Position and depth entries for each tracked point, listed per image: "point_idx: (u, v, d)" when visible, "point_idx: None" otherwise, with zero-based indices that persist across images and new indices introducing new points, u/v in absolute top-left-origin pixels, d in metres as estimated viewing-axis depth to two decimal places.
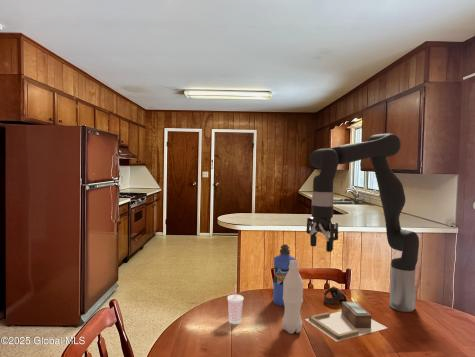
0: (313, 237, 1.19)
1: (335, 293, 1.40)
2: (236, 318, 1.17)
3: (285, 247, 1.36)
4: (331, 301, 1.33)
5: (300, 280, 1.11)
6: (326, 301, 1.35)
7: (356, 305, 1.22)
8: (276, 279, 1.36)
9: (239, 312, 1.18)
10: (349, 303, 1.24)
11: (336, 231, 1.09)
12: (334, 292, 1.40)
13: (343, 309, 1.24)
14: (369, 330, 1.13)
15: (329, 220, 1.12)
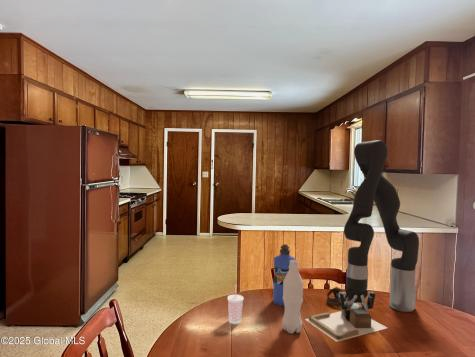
0: None
1: None
2: (236, 318, 1.17)
3: (285, 247, 1.36)
4: (334, 302, 1.32)
5: (300, 280, 1.11)
6: (329, 302, 1.34)
7: (356, 305, 1.22)
8: (276, 279, 1.36)
9: (239, 312, 1.18)
10: None
11: None
12: (337, 293, 1.40)
13: None
14: (369, 330, 1.13)
15: None
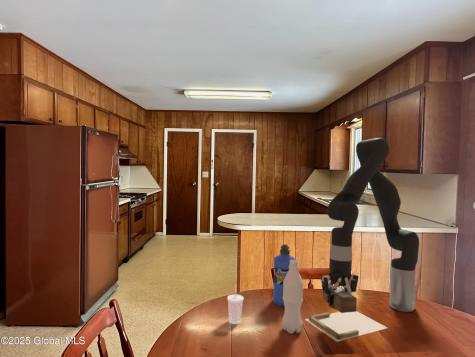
0: None
1: None
2: (236, 317, 1.17)
3: (285, 247, 1.36)
4: None
5: (300, 280, 1.11)
6: None
7: (339, 289, 1.15)
8: (276, 279, 1.36)
9: (239, 312, 1.18)
10: None
11: None
12: None
13: (325, 294, 1.17)
14: (369, 330, 1.13)
15: None
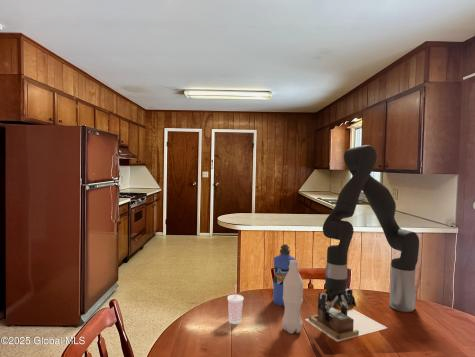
0: None
1: None
2: (236, 318, 1.17)
3: (285, 247, 1.36)
4: None
5: (300, 280, 1.11)
6: None
7: (334, 310, 1.17)
8: (276, 279, 1.36)
9: (239, 312, 1.18)
10: None
11: None
12: None
13: (320, 316, 1.18)
14: (369, 330, 1.13)
15: None
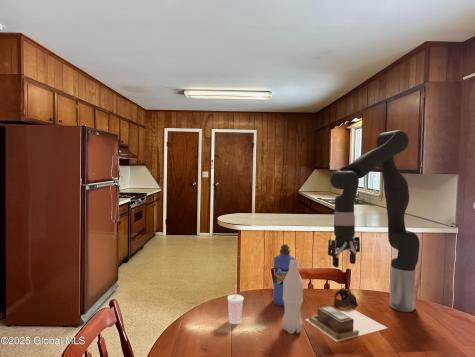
0: None
1: (345, 295, 1.39)
2: (236, 318, 1.17)
3: (285, 247, 1.36)
4: (342, 303, 1.31)
5: (300, 280, 1.11)
6: (337, 303, 1.33)
7: (334, 310, 1.17)
8: (276, 279, 1.36)
9: (239, 312, 1.18)
10: (326, 309, 1.18)
11: None
12: (344, 294, 1.39)
13: (320, 316, 1.18)
14: (369, 330, 1.13)
15: None
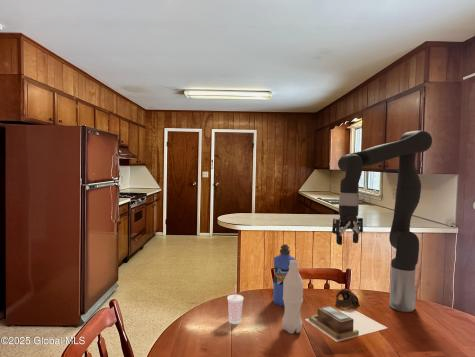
0: None
1: (346, 295, 1.38)
2: (236, 318, 1.17)
3: (285, 247, 1.36)
4: (344, 304, 1.31)
5: (300, 280, 1.11)
6: (339, 304, 1.33)
7: (334, 310, 1.17)
8: (276, 279, 1.36)
9: (239, 312, 1.18)
10: (326, 309, 1.18)
11: None
12: (345, 294, 1.38)
13: (320, 316, 1.18)
14: (369, 330, 1.13)
15: None
